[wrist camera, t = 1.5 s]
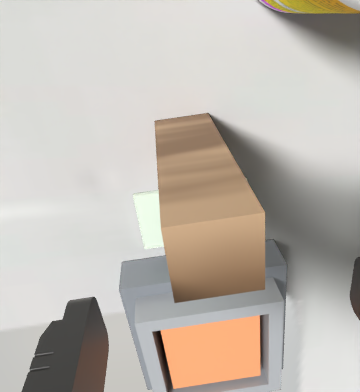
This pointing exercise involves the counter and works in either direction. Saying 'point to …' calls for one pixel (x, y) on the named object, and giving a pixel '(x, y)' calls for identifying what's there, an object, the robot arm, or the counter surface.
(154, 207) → the sage mat
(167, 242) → the walnut block
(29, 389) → the robot arm
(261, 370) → the grey open square box
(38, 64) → the counter surface
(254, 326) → the button
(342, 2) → the supplement bottle
